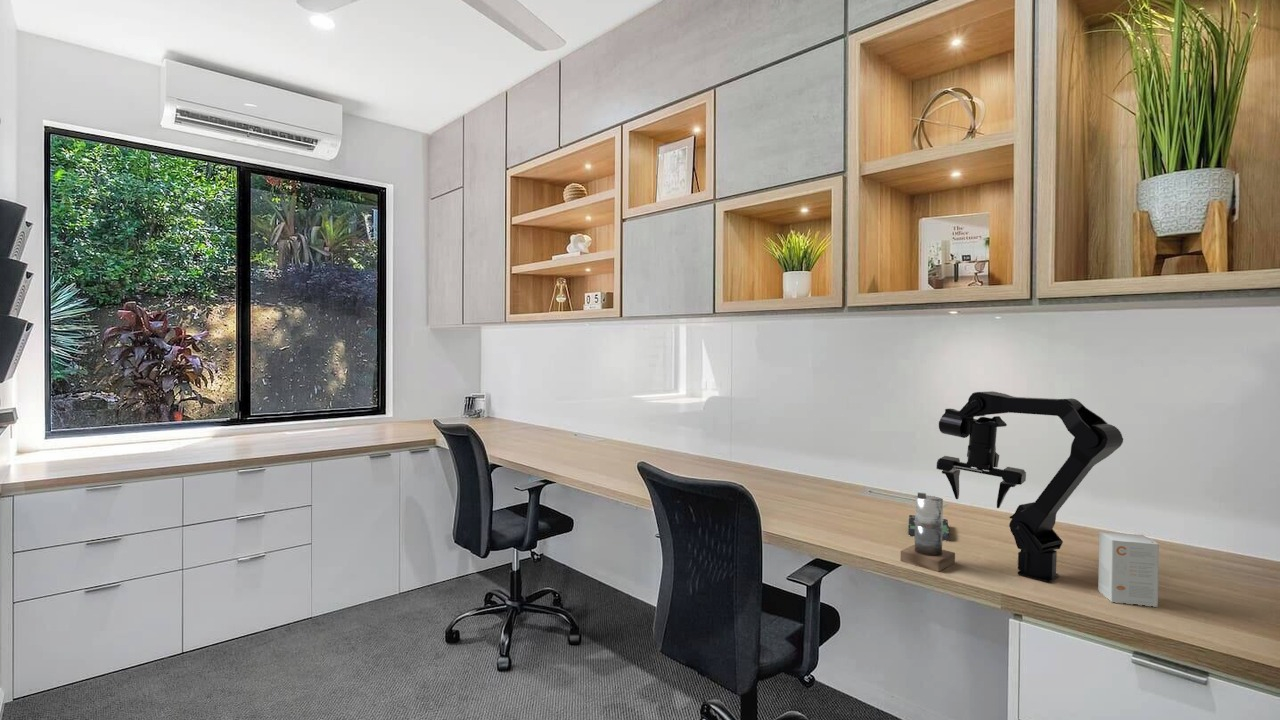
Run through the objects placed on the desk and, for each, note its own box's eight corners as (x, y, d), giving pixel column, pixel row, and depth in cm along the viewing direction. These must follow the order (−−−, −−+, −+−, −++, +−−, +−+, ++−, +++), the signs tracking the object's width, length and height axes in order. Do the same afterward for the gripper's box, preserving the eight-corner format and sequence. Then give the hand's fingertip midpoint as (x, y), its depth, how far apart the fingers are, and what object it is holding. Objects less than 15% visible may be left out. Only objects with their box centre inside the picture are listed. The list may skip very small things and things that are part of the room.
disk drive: (908, 524, 178) (908, 537, 164) (908, 514, 178) (908, 527, 164) (947, 528, 173) (950, 543, 160) (947, 518, 173) (950, 532, 160)
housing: (941, 549, 146) (942, 492, 145) (942, 557, 140) (943, 498, 140) (914, 546, 148) (915, 490, 148) (914, 553, 143) (915, 495, 143)
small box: (1142, 595, 126) (1143, 534, 125) (1158, 608, 120) (1160, 543, 119) (1096, 590, 128) (1098, 530, 128) (1110, 602, 122) (1112, 539, 122)
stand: (954, 562, 144) (955, 552, 144) (938, 571, 138) (938, 561, 138) (917, 552, 151) (917, 543, 151) (900, 560, 145) (900, 550, 145)
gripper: (1033, 444, 147) (1027, 505, 148) (951, 431, 160) (946, 488, 161) (1023, 450, 139) (1017, 515, 140) (938, 437, 152) (933, 497, 153)
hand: (977, 503), depth 149 cm, fingers open, 9 cm apart
